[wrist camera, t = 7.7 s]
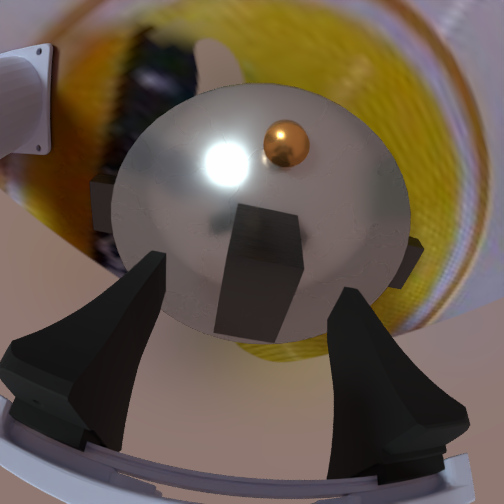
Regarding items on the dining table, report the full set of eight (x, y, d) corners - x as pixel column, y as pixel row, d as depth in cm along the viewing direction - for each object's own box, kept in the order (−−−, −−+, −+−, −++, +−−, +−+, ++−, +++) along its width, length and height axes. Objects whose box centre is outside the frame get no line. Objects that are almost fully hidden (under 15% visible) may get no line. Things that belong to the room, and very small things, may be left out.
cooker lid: (128, 305, 18) (103, 362, 14) (124, 65, 10) (60, 77, 6) (340, 344, 19) (349, 403, 15) (445, 140, 11) (504, 182, 7)
